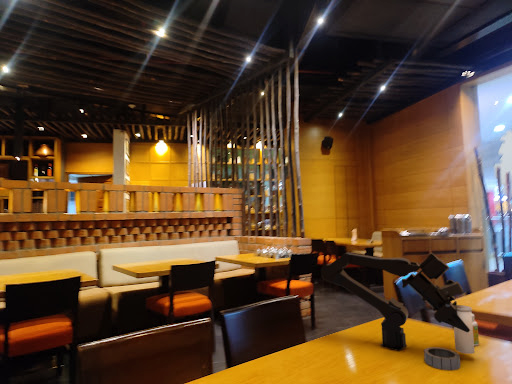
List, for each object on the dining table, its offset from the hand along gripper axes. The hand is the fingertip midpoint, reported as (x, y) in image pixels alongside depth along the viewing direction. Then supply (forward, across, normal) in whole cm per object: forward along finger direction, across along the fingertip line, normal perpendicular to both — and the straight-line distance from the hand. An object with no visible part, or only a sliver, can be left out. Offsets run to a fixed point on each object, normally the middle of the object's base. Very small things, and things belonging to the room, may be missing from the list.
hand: (468, 328), depth 103 cm
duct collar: (+1, -8, +12) cm, 14 cm away
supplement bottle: (+7, +15, +6) cm, 18 cm away
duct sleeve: (+4, 0, +6) cm, 7 cm away
